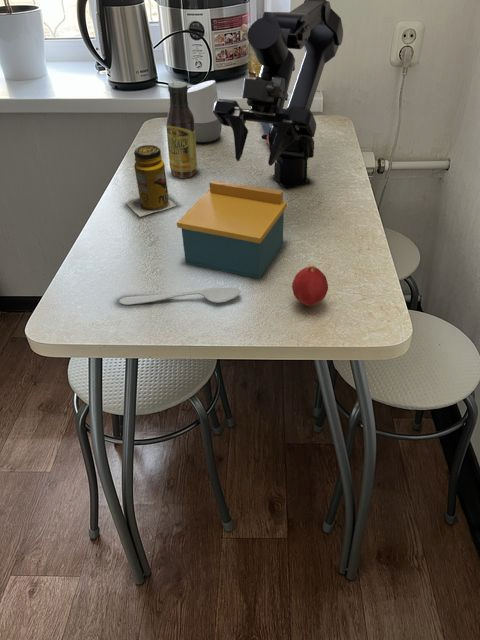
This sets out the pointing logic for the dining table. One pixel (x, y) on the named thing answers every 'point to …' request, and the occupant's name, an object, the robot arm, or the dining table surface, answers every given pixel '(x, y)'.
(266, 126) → the knife
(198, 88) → the smart speaker
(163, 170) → the condiment
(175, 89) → the sauce bottle
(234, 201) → the bin lid
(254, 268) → the storage bin
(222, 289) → the spoon
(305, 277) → the onion
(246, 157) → the dining table surface
